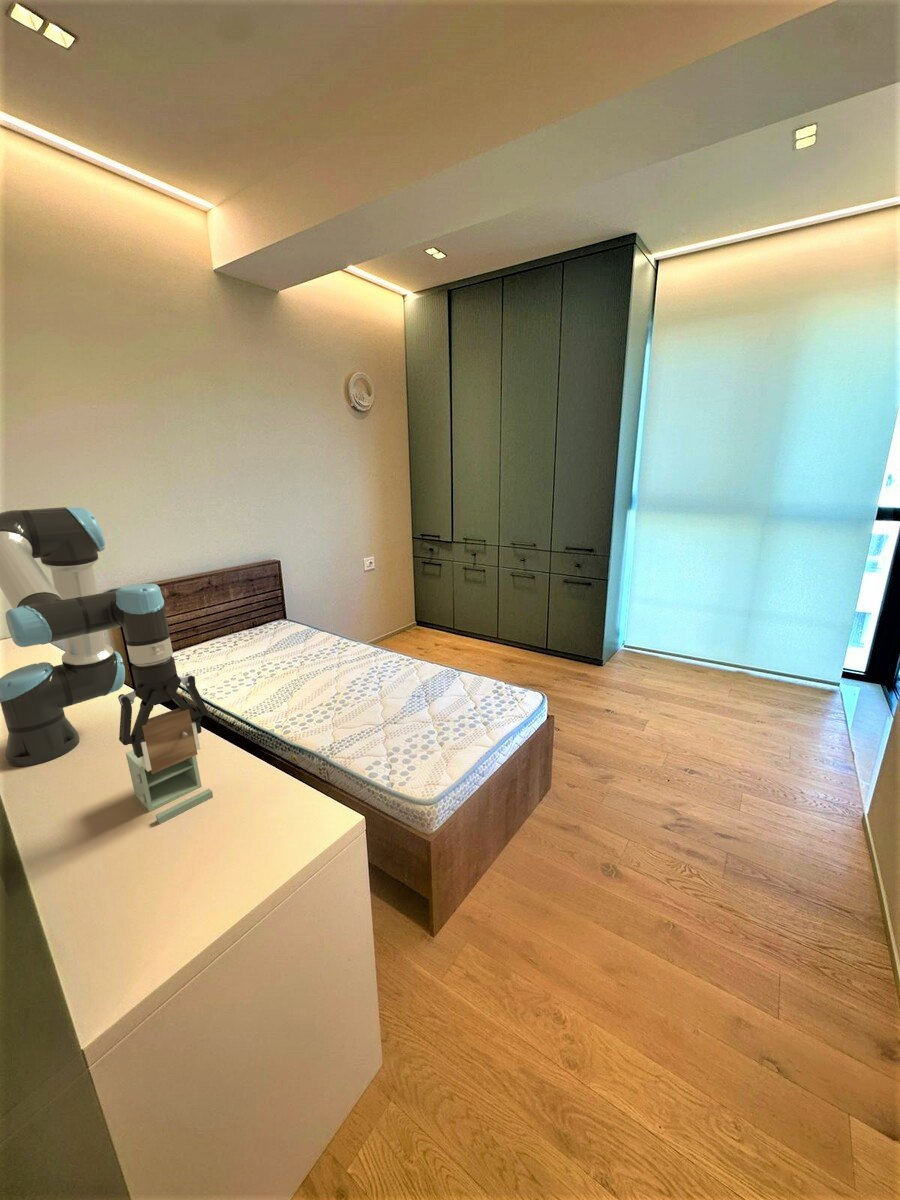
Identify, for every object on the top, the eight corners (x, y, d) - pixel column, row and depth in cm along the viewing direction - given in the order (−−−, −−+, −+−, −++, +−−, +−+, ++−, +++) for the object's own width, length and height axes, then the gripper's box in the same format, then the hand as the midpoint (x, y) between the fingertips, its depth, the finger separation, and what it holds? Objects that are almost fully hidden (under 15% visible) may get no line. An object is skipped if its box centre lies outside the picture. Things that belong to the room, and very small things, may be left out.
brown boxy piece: (148, 769, 99) (137, 722, 96) (192, 750, 105) (184, 706, 103) (154, 775, 96) (143, 727, 94) (199, 756, 103) (191, 710, 100)
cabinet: (131, 796, 107) (121, 754, 104) (185, 772, 116) (178, 732, 113) (155, 826, 97) (145, 780, 95) (213, 796, 106) (205, 753, 103)
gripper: (93, 682, 85) (119, 790, 91) (214, 648, 101) (230, 741, 107) (82, 672, 90) (107, 775, 95) (200, 641, 106) (215, 731, 111)
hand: (172, 757), depth 101 cm, fingers closed on brown boxy piece, 9 cm apart
